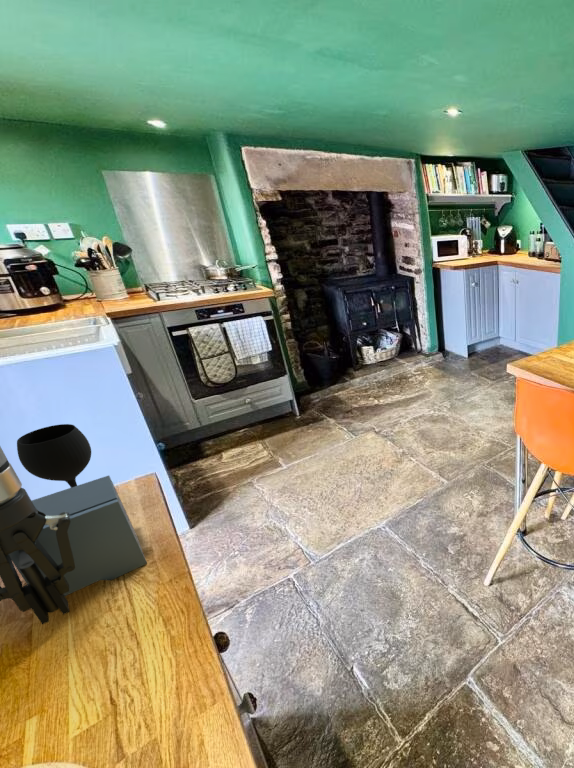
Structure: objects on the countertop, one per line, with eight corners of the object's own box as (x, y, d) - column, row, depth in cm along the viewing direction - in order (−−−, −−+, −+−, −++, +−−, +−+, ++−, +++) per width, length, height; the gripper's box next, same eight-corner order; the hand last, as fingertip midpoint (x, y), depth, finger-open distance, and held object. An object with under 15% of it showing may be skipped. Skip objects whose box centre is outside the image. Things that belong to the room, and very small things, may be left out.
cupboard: (146, 560, 81) (116, 497, 75) (44, 607, 72) (0, 539, 65) (137, 535, 87) (109, 475, 81) (42, 575, 78) (1, 510, 71)
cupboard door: (154, 581, 77) (123, 517, 70) (46, 634, 67) (0, 565, 61) (146, 560, 81) (117, 498, 75) (44, 607, 71) (1, 541, 65)
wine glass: (78, 525, 90) (37, 449, 81) (39, 519, 91) (-5, 444, 83) (125, 495, 99) (93, 424, 91) (90, 490, 100) (55, 420, 92)
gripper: (-110, 542, 50) (-15, 662, 60) (60, 488, 60) (118, 597, 70) (-99, 513, 55) (-13, 629, 64) (57, 467, 65) (111, 573, 74)
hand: (55, 612), depth 67 cm, fingers closed on cupboard door, 2 cm apart
